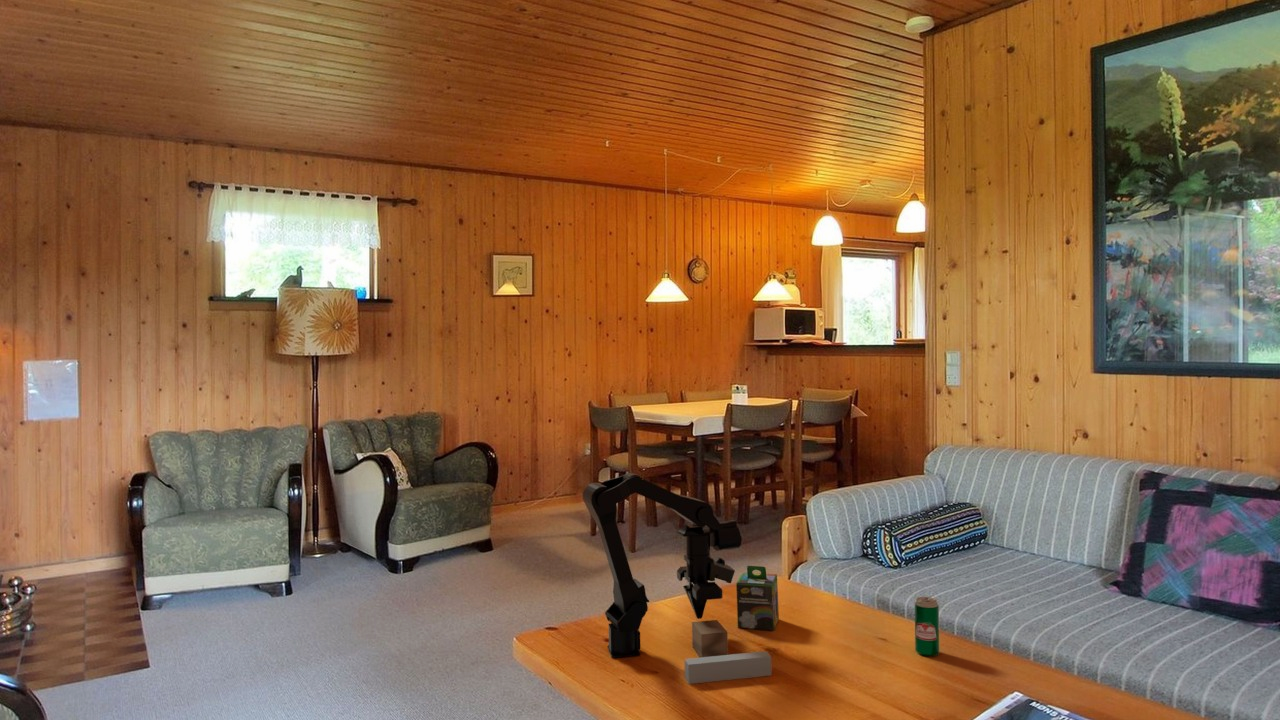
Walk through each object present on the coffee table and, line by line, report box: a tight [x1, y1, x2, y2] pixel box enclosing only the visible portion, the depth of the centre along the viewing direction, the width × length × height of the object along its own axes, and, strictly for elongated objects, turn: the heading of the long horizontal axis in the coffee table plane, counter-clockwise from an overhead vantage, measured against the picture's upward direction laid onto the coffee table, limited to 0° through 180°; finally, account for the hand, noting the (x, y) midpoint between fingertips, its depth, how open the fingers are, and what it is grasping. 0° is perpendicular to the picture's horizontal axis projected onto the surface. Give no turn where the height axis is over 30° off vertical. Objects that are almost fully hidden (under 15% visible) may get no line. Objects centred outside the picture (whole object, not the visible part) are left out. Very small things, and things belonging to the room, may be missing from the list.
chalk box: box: [735, 565, 780, 632], centre depth 195 cm, size 9×9×15 cm
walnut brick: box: [691, 619, 729, 658], centre depth 177 cm, size 6×8×6 cm
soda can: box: [914, 596, 940, 657], centre depth 174 cm, size 5×5×12 cm
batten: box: [684, 650, 772, 685], centre depth 164 cm, size 18×3×4 cm, turn 101°
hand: (699, 618), depth 185 cm, fingers closed
